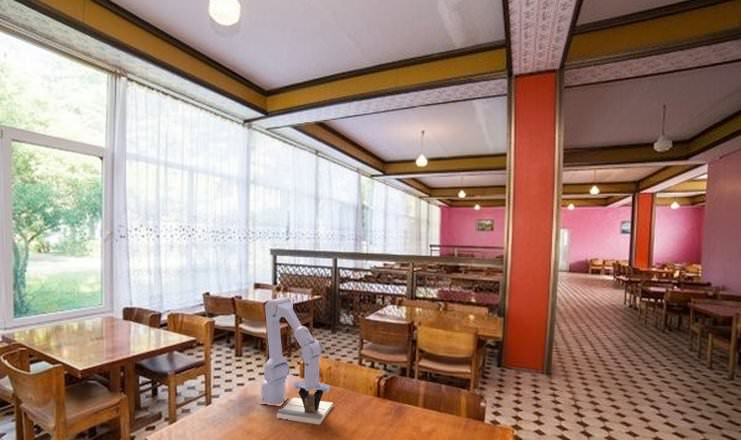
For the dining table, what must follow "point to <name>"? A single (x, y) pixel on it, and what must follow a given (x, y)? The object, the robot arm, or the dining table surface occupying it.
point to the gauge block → (310, 404)
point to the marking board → (297, 412)
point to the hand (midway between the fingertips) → (311, 408)
